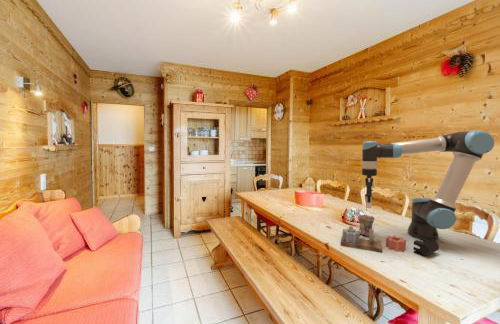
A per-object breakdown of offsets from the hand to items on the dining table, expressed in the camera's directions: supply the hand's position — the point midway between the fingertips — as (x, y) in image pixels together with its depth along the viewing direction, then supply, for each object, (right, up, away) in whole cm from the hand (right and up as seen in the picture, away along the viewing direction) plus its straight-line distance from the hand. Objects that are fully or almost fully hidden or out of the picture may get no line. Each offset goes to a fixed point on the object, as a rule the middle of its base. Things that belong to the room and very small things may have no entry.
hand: (368, 205), depth 135 cm
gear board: (-7, -21, -5) cm, 23 cm away
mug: (+3, -20, +12) cm, 23 cm away
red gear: (+10, -21, -9) cm, 25 cm away
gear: (-12, -19, -3) cm, 23 cm away
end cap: (+21, -22, -15) cm, 34 cm away
